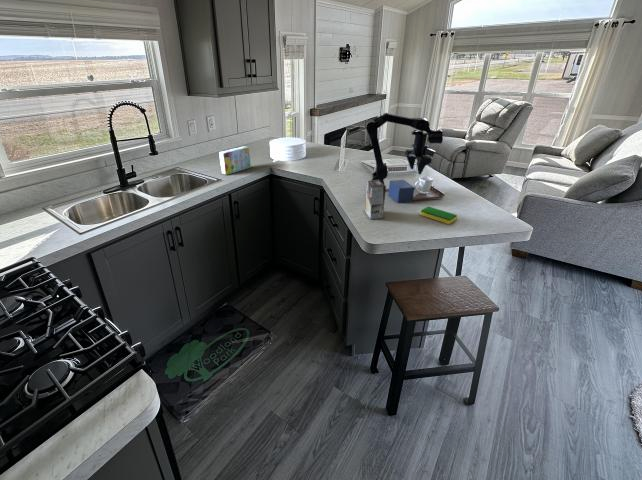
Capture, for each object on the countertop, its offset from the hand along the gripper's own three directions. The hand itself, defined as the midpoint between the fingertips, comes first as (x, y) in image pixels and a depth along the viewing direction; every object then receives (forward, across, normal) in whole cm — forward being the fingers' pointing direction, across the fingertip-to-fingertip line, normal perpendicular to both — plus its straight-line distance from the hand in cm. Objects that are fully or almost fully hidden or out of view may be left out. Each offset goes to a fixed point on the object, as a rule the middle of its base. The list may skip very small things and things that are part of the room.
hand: (415, 171), depth 177 cm
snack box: (+13, +58, +100) cm, 116 cm away
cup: (+10, -7, -2) cm, 12 cm away
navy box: (+12, -7, +2) cm, 14 cm away
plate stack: (+13, +89, +60) cm, 108 cm away
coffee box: (+12, -24, +31) cm, 41 cm away
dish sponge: (+12, -32, +3) cm, 34 cm away
